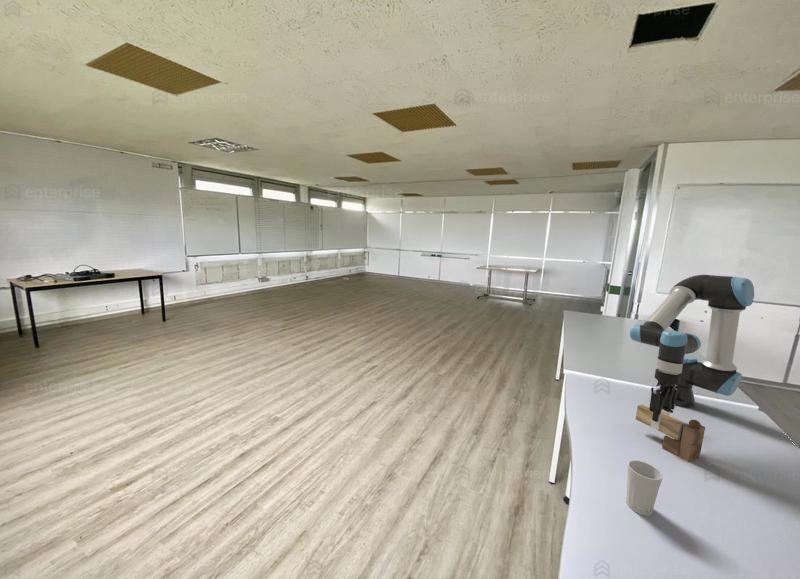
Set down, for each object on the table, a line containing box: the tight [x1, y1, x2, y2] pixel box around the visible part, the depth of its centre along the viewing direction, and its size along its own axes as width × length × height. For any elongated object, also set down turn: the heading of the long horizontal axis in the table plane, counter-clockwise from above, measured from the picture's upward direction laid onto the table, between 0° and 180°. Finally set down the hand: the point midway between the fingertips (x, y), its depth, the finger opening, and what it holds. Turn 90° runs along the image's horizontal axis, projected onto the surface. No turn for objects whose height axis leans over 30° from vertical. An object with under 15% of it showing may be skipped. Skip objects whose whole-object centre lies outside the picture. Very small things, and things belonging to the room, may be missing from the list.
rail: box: [635, 404, 689, 441], centre depth 124 cm, size 4×16×6 cm, turn 21°
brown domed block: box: [661, 419, 706, 462], centre depth 117 cm, size 8×8×14 cm
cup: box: [625, 459, 664, 517], centre depth 92 cm, size 8×8×12 cm
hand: (658, 427), depth 125 cm, fingers closed on rail, 4 cm apart
